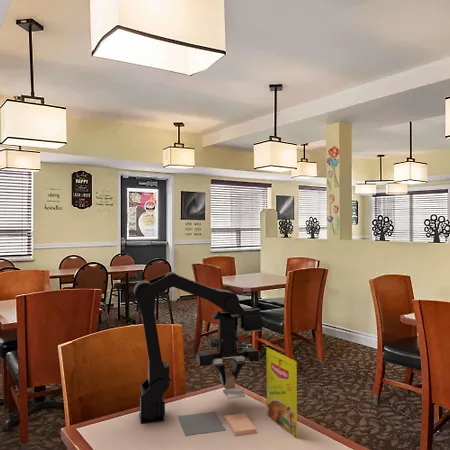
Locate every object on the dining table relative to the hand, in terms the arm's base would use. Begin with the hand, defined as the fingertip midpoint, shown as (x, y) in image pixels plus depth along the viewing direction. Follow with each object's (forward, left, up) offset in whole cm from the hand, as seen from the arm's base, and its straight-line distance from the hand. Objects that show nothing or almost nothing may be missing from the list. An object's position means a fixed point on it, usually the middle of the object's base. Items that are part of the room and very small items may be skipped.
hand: (228, 384), depth 129 cm
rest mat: (-10, -7, -8) cm, 14 cm away
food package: (+11, -15, -8) cm, 20 cm away
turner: (0, -3, -1) cm, 3 cm away
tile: (0, -7, -7) cm, 10 cm away
